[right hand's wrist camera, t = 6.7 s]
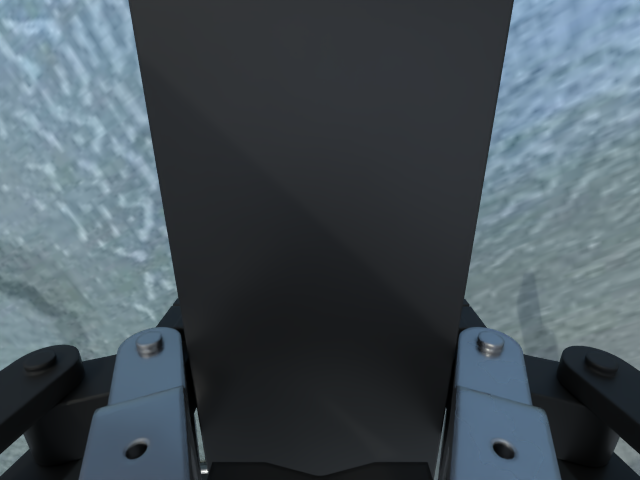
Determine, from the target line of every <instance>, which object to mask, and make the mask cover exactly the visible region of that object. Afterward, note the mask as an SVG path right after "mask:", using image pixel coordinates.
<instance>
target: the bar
mask: <svg viewBox="0 0 640 480" xmlns="http://www.w3.org/2000/svg"><path fill="white" fill-rule="evenodd" d="M513 2H514V0H129V6H130V12H131V18H132V24H133V30H134V36H135V42H136V48H137V54H138V60H139V66H140V72H141V78H142V84H143V90H144V96H145V101H146V107H147V113H148V119H149V125H150V131H151V137H152V143H153V149H154V155H155V161H156V167H157V173H158V179H159V185H160V191H161V197H162V203H163V209H164V215H165V221H166V227H167V232H168V238H169V244H170V250H171V256H172V262H173V268H174V274H175V280H176V286H177V292H178V298H179V304H180V310H181V316H182V322H183V328H184V334H185V340H186V346H187V352H188V358H189V363H190V369H191V375H192V381H193V387H194V393H195V399H196V405H197V411H198V417H199V423H200V429H201V435H202V441H203V447H204V453H205V459H206V465H207V471H208V475H209V471H210V468H211V465H212V462H267V463H271V464H275V465H278V466H282V467H286V468H290V469H293V470H297V471H301V472H305V473H308V474H312V475H317V476H323V475H328V474H332V473H335V472H339V471H343V470H347V469H350V468H354V467H358V466H362V465H365V464H369V463H373V462H428V465H429V468H430V471H431V475H432V478H433V480H434V475H435V469H436V463H437V457H438V451H439V445H440V439H441V433H442V427H443V421H444V415H445V409H446V403H447V397H448V391H449V385H450V379H451V373H452V367H453V361H454V355H455V349H456V343H457V337H458V331H459V325H460V319H461V313H462V307H463V301H464V295H465V289H466V283H467V277H468V271H469V265H470V259H471V253H472V247H473V241H474V235H475V229H476V223H477V218H478V212H479V206H480V200H481V194H482V188H483V182H484V176H485V170H486V164H487V158H488V152H489V146H490V140H491V134H492V128H493V122H494V116H495V110H496V104H497V98H498V92H499V86H500V80H501V74H502V68H503V62H504V56H505V50H506V44H507V38H508V32H509V26H510V20H511V14H512V8H513Z"/></svg>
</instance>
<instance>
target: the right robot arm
mask: <svg viewBox="0 0 640 480" xmlns="http://www.w3.org/2000/svg"><path fill="white" fill-rule="evenodd" d="M196 407H197V405H196V399H195V393H194V387H193V381H192V375H191V369H190V363H189V358H188V352H187V346H186V340H185V334H184V328H183V322H182V316H181V310H180V304H179V298H177V300H176V301H175V302H174V304H173V306H171V308H170V309H169V310H168V312H167V313H166V314H165V316H164V317H163V318H162V320H161V321H160V322H159V324H158V325H157V326H156V328H150V329H147V330H143V331H141V332H138V333H136V334H134V335H132V336H131V337H129V338H128V339H126V340H125V341H124V342H123V343H122V344H121V345H120V347H119V348H118V351H117V354H116V355H112V356H107V357H102V358H97V359H92V360H88V361H83V362H82V360H81V357H80V353H79V351H78V349H77V348H76V347H74V346H70V345H55V346H50V347H45V348H42V349H39V350H36V351H33V352H31V353H29V354H27V355H25V356H23V357H21V358H19V359H18V360H16V361H15V362H13V363H12V364H10V365H9V366H7V367H6V368H4V369H3V370H1V371H0V454H1V453H2V452H3V451H4V450H5V449H7V448H8V447H9V446H10V445H11V444H12V443H13V442H14V441H16V440H17V439H18V438H19V437H20V436H21V435H22V434H24V436H25V439H26V441H27V444H28V446H29V448H30V449H29V450H28V451H27V452H26V453H25V454H24V455H23V456H21V457H20V458H19V459H18V460H17V461H16V462H15V463H14V464H13V465H12V466H11V467H10V468H9V469H8V470H7V471H6V472H5V473H4V474H2V475H1V476H0V480H433V478H432V475H431V471H430V468H429V465H428V462H373V463H369V464H365V465H362V466H358V467H354V468H350V469H347V470H343V471H339V472H335V473H332V474H328V475H323V476H317V475H312V474H308V473H305V472H301V471H297V470H293V469H290V468H286V467H282V466H278V465H275V464H271V463H267V462H212V465H211V468H210V471H209V475H208V471H207V465H206V462H203V463H200V458H199V449H198V439H197V430H196V421H195V415H194V412H195V410H196ZM619 437H621V438H622V439H623V440H624V441H626V442H627V443H628V444H629V445H630V446H631V447H632V448H633V449H635V450H636V451H637V452H638V453H639V454H640V371H639V370H637V369H636V368H634V367H633V366H631V365H630V364H628V363H627V362H625V361H624V360H622V359H620V358H618V357H617V356H615V355H612V354H610V353H608V352H605V351H602V350H599V349H596V348H592V347H586V346H571V347H568V348H566V349H565V350H563V352H562V356H561V359H560V362H557V361H552V360H547V359H542V358H537V357H532V356H528V355H525V354H523V351H522V348H521V347H520V345H519V344H518V343H517V342H516V341H515V340H514V339H512V338H511V337H509V336H508V335H506V334H504V333H502V332H499V331H497V330H493V329H490V328H487V327H486V326H485V325H484V323H483V322H482V321H481V319H480V318H479V317H478V315H477V314H476V313H475V312H474V310H473V309H472V308H471V307H469V304H468V302H467V301H466V300H465V299H464V301H463V307H462V313H461V319H460V325H459V331H458V337H457V343H456V349H455V355H454V361H453V367H452V373H451V379H450V385H449V391H448V397H447V403H446V415H445V421H444V430H443V439H442V449H441V458H440V467H439V477H438V480H640V476H639V475H638V474H637V473H635V472H634V471H633V470H632V469H631V468H630V467H629V466H628V465H627V464H626V463H625V462H624V461H623V460H622V459H621V458H620V457H619V456H617V455H616V454H615V453H614V452H613V451H614V449H615V447H616V444H617V442H618V440H619Z"/></svg>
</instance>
